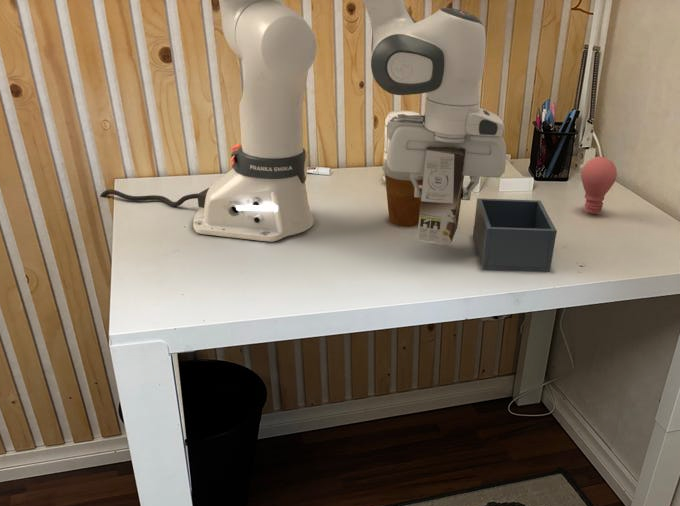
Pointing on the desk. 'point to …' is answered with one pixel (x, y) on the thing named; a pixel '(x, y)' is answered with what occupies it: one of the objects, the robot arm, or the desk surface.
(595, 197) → the light bulb
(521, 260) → the open box
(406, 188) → the disposable coffee cup
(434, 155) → the coffee box
